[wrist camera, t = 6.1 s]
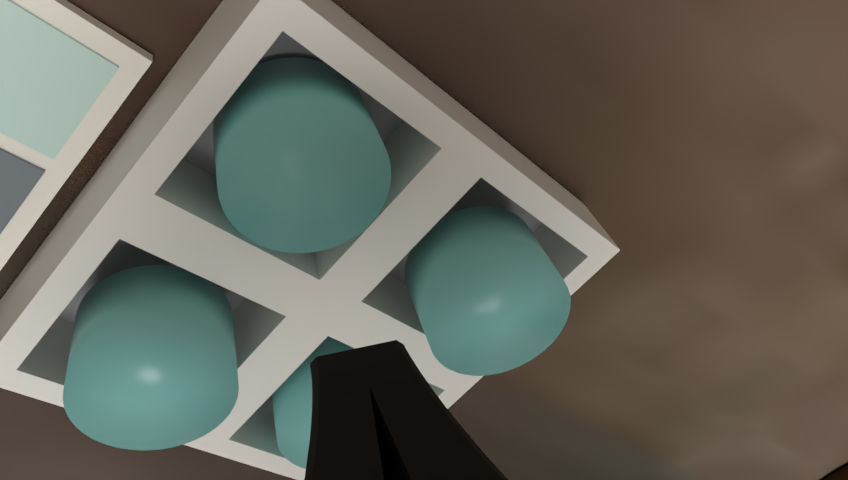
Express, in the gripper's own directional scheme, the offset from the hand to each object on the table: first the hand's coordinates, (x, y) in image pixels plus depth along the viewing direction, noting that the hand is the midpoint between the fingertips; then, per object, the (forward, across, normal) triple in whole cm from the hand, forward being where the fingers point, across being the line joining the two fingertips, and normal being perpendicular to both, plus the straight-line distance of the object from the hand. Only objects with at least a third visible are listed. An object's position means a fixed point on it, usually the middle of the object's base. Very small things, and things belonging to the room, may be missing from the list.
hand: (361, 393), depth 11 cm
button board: (+9, 0, +4) cm, 10 cm away
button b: (+7, +4, +4) cm, 9 cm away
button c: (+7, -4, +4) cm, 9 cm away
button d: (+9, 0, 0) cm, 9 cm away
